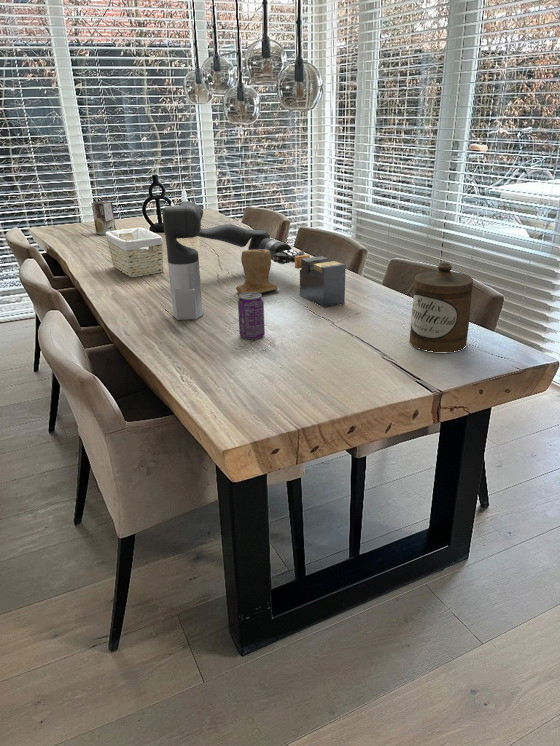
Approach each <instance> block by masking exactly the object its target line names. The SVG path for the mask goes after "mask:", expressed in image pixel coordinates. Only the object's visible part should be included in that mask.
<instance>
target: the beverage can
mask: <svg viewBox="0 0 560 746" xmlns="http://www.w3.org/2000/svg"><path fill="white" fill-rule="evenodd" d="M238 295H239V294H238ZM238 297H239V299H238V301H237V310H238V327H239V328H238V330H239V336H240V337H241V338H244V339H246V340H256V338H257V339H259V338H262V337H264V335H265V331H266V330H265V306H264V305H265V303H264V299H263V298H262V297H263V295H262V293H256V292H247V293H242V294H240V295H239V296H238Z"/></svg>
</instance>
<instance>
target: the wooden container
mask: <svg viewBox="0 0 560 746" xmlns="http://www.w3.org/2000/svg"><path fill="white" fill-rule="evenodd" d="M452 269H453V267H452V264H450V263H449V262H445V261H444V262H441V263H440V264H438V265H437V270H438V271H437V270H434V271H433V270H431V271H426V272H424V271H423V272H421V273H418V274H416V275H415V276H414V283H413V289H414V291H413V300H412V308H411V317H410V318H411V319H410V331H409V343H411V344H412V345H413V346H412V345H411V344H410V345H411V346H412V347H414V346H415V347H417V348H420V349H423V350H427V351H433V352H454V351H458V350H461V349H463V348H464V347H465V346H466V347H467V343H468V335H469V334H468V333H469V326H470V319H471V318H470V317H471V307H472V306H471V303H472V294H473V293H472V292H473V285H474V284H473V283H474V279H473V278H472V277H471V276H470V275H469V274H465V273H463V272H462V273H461V272H458V271H457V272H456V271H452ZM415 347H414V348H415ZM466 347H465V348H466ZM417 348H416V349H417ZM465 348H464V349H465ZM464 349H463V350H464ZM461 351H462V350H461ZM458 352H459V351H458ZM454 353H455V352H454Z"/></svg>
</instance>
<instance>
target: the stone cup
mask: <svg viewBox="0 0 560 746" xmlns="http://www.w3.org/2000/svg"><path fill="white" fill-rule="evenodd" d="M240 256H241V257H240V261H241V265H242V268H243V273H244V279H245V280H244V282H243V283H242V284H240V285H237V286H235V287H236V288H235V290H236V292H237V293H238V295H240V294H242V293H247V292H256V293H260V294H263V293H269V292H271V291H275V290H276V291H277V290H278V289H279V288H278V286H277V285H276V284H274V283H272V282H270V280H269V279H270V278H269V275H270V271H271V267H272V260H271V255H270V252H269V251H268V250H261V249H259V250H248V249H247V250H242V252H241V255H240Z"/></svg>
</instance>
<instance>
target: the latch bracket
mask: <svg viewBox="0 0 560 746" xmlns="http://www.w3.org/2000/svg"><path fill="white" fill-rule="evenodd" d="M313 265H314V266H313ZM310 266H313V270H310ZM346 268H347V267H346V264H345V263H341V262H339V261H337V260H336V261H335V260H334V261H333V260H332V261H329V258H328V257H325V256H322V255H320V256H314V257H313V256H312V257H310V258H305V259H301V268H300V269H299V296H300V295H301V296H300V297H303V298H304V299H306V300H308V301H309V302H312V303H313V302H314V304H315V303H316V305H317V304H318V305H317V306H319V305H320V306H319V307H321V308H323V309H325V308H331V307H335V306H341V305H345V303H346V302H345V299H346V298H345V297H346ZM340 304H341V305H340Z"/></svg>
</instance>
